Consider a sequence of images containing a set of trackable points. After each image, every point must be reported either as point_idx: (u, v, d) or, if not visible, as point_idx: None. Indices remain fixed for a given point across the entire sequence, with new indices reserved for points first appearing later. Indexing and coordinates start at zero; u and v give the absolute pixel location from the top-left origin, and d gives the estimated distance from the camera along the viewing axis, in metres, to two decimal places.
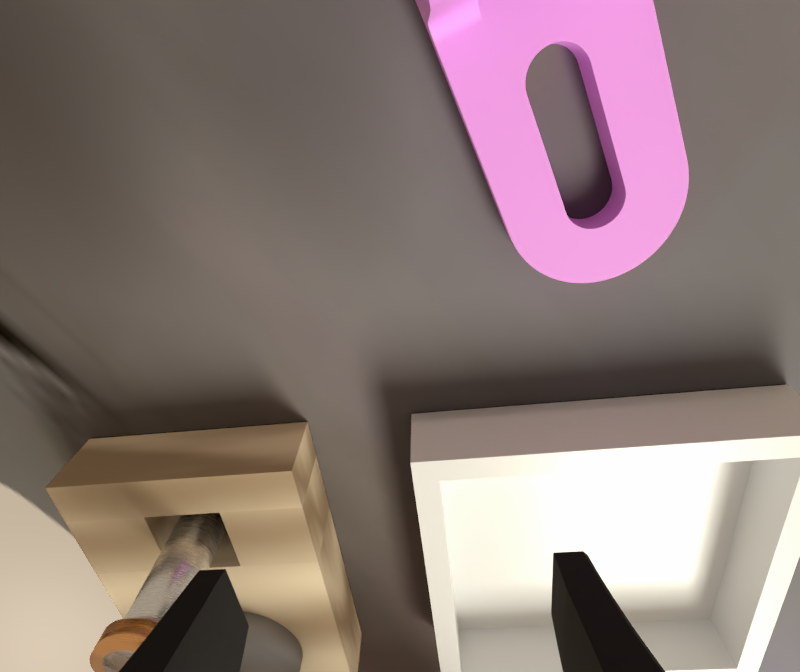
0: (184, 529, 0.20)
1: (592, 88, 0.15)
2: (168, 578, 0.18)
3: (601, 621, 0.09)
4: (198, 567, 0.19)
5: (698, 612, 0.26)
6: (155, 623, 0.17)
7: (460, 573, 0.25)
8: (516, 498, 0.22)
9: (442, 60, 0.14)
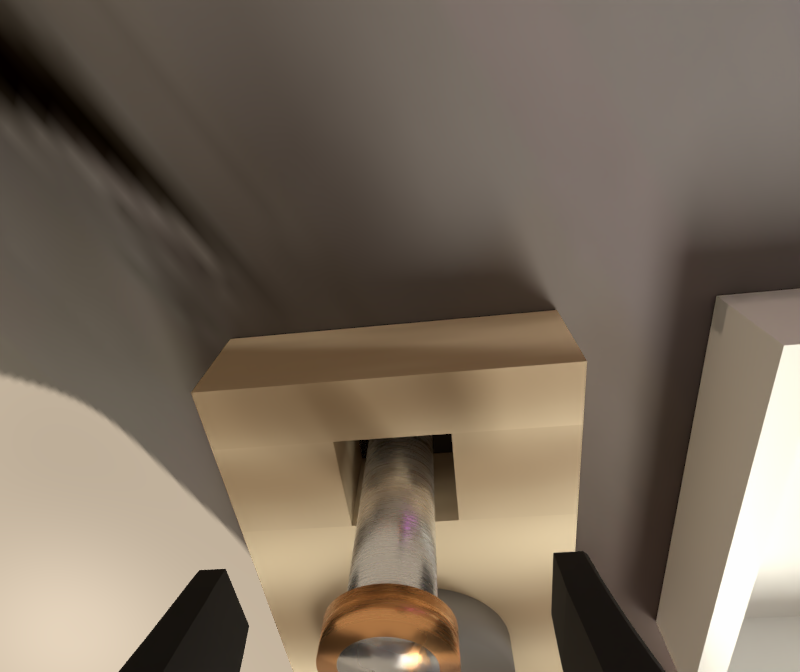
0: (394, 460, 0.13)
1: None
2: (403, 525, 0.11)
3: (601, 621, 0.09)
4: (431, 513, 0.12)
5: None
6: (424, 592, 0.10)
7: None
8: None
9: None
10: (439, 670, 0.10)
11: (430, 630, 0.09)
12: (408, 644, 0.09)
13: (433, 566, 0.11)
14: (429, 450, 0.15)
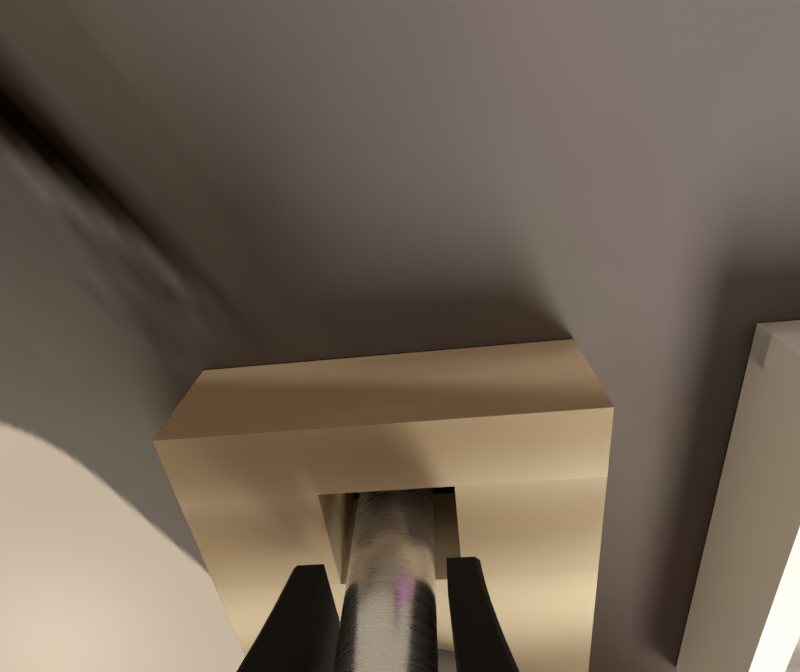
0: (389, 516, 0.12)
1: None
2: (398, 605, 0.10)
3: (472, 626, 0.09)
4: (431, 583, 0.11)
5: None
6: None
7: None
8: None
9: None
10: None
11: None
12: None
13: (434, 656, 0.09)
14: (429, 499, 0.13)
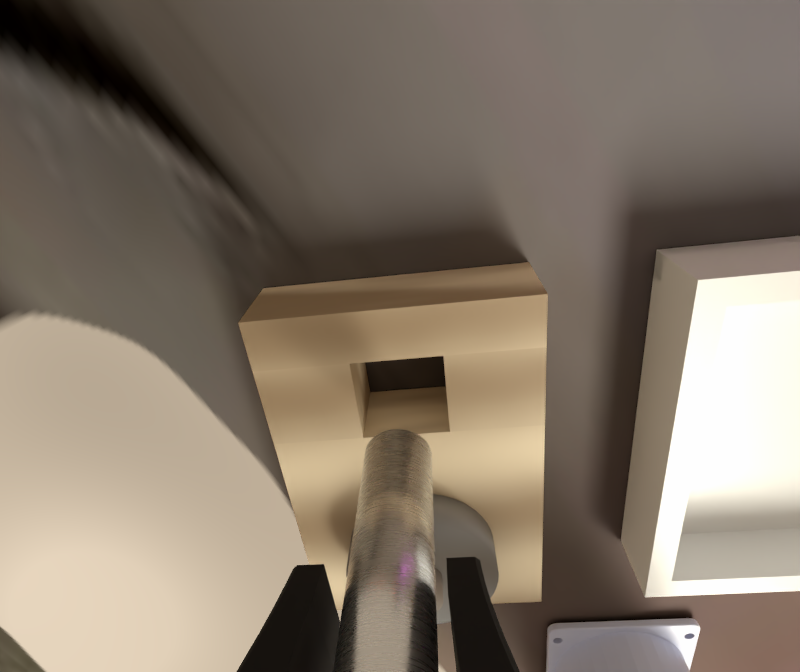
0: (389, 516, 0.12)
1: None
2: (398, 605, 0.10)
3: (472, 626, 0.09)
4: (431, 583, 0.11)
5: None
6: None
7: None
8: (762, 360, 0.19)
9: None
10: None
11: None
12: None
13: (434, 656, 0.09)
14: (429, 499, 0.13)
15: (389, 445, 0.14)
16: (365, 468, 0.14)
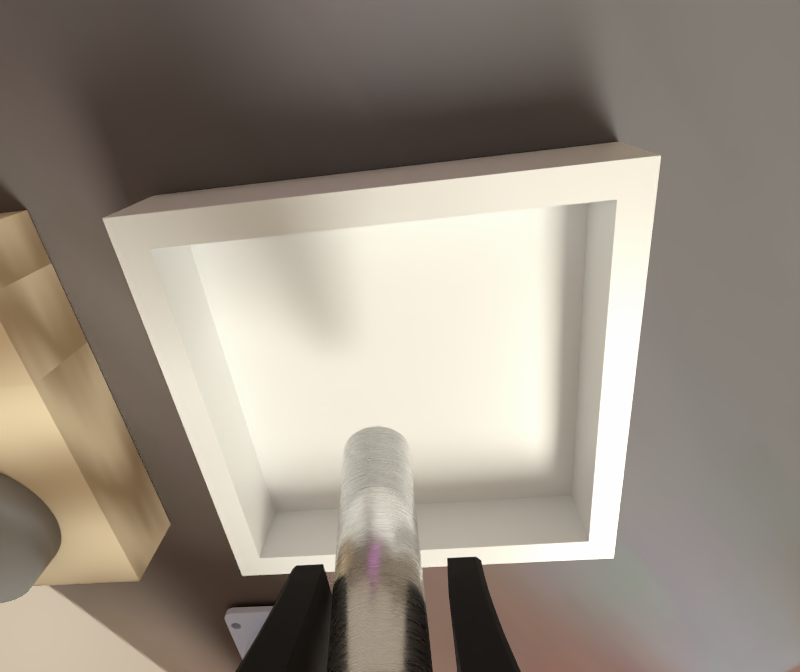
0: (372, 511, 0.12)
1: None
2: (388, 596, 0.10)
3: (473, 626, 0.09)
4: (419, 573, 0.11)
5: (555, 484, 0.21)
6: None
7: (259, 431, 0.20)
8: (302, 318, 0.18)
9: None
10: None
11: None
12: None
13: (426, 643, 0.10)
14: (410, 493, 0.13)
15: (367, 443, 0.14)
16: (345, 467, 0.14)
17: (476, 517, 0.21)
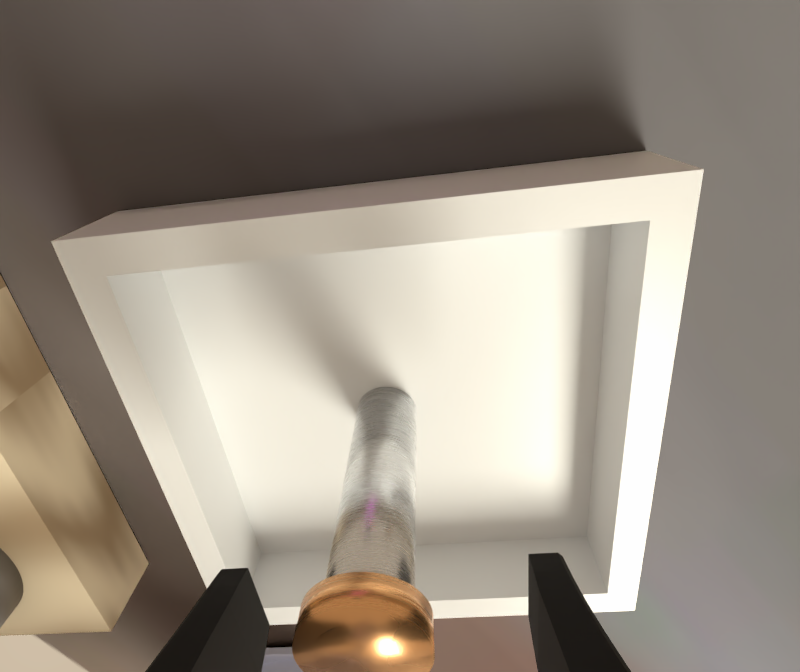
0: (376, 452, 0.14)
1: None
2: (381, 516, 0.12)
3: (571, 622, 0.09)
4: (411, 504, 0.13)
5: (568, 525, 0.19)
6: (398, 580, 0.10)
7: (242, 468, 0.18)
8: (287, 347, 0.16)
9: None
10: (413, 657, 0.10)
11: (402, 616, 0.09)
12: (381, 631, 0.09)
13: (410, 555, 0.11)
14: (411, 442, 0.15)
15: (377, 399, 0.16)
16: (357, 419, 0.16)
17: (482, 562, 0.19)
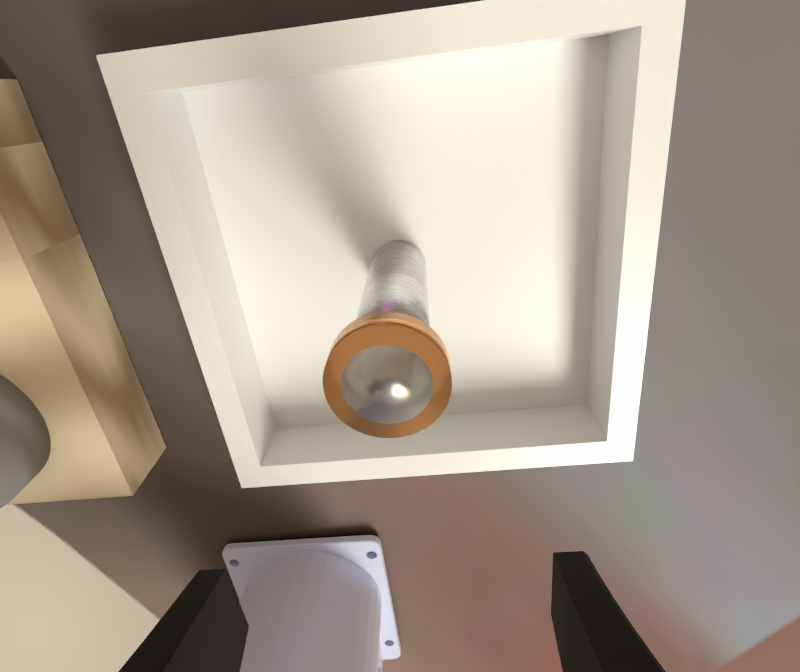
0: (391, 270, 0.15)
1: None
2: (400, 298, 0.13)
3: (601, 621, 0.09)
4: (425, 304, 0.14)
5: (569, 392, 0.20)
6: (418, 319, 0.11)
7: (259, 333, 0.19)
8: (306, 198, 0.17)
9: None
10: (433, 388, 0.11)
11: (424, 336, 0.10)
12: (405, 354, 0.10)
13: None
14: (423, 274, 0.16)
15: (390, 246, 0.17)
16: (371, 263, 0.17)
17: (488, 425, 0.20)
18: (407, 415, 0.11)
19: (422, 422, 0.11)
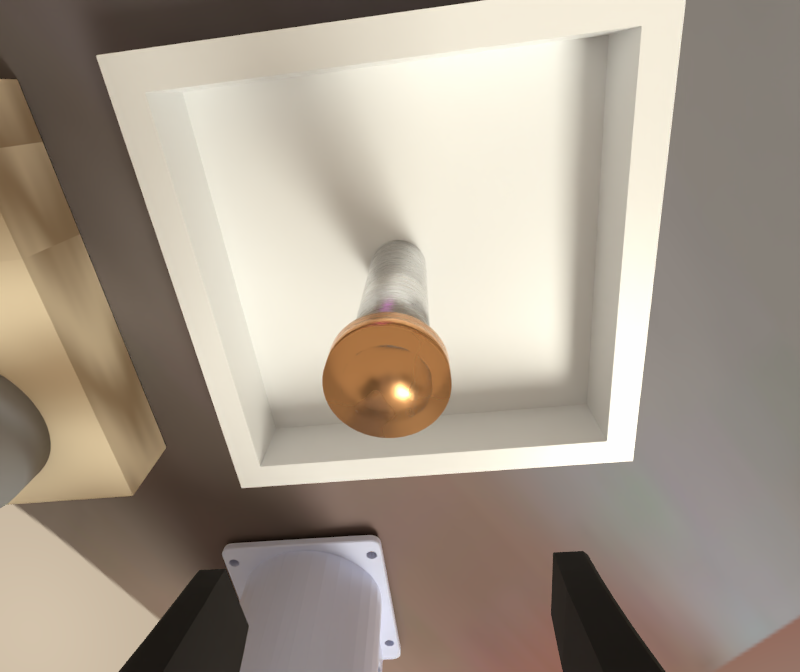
0: (391, 269, 0.15)
1: None
2: (400, 298, 0.13)
3: (601, 621, 0.09)
4: (425, 304, 0.14)
5: (569, 392, 0.20)
6: (418, 319, 0.11)
7: (259, 333, 0.19)
8: (306, 198, 0.17)
9: None
10: (432, 388, 0.11)
11: (423, 336, 0.10)
12: (404, 354, 0.10)
13: None
14: (423, 274, 0.16)
15: (390, 246, 0.17)
16: (371, 263, 0.17)
17: (488, 425, 0.20)
18: (406, 415, 0.11)
19: (422, 422, 0.11)
